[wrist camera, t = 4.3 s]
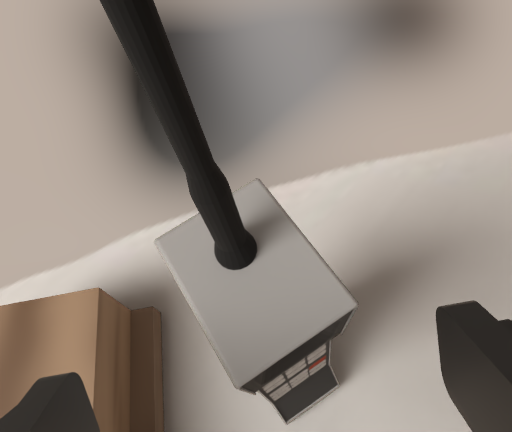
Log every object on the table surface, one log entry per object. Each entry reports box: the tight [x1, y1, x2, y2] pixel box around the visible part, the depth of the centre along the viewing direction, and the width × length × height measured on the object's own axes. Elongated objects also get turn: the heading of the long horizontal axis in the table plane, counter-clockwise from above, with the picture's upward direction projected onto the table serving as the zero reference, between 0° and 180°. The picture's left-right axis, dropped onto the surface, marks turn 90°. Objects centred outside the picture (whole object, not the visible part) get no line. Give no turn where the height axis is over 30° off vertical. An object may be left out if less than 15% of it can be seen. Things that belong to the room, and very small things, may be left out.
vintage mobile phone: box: [100, 0, 358, 425], centre depth 15 cm, size 4×5×25 cm
